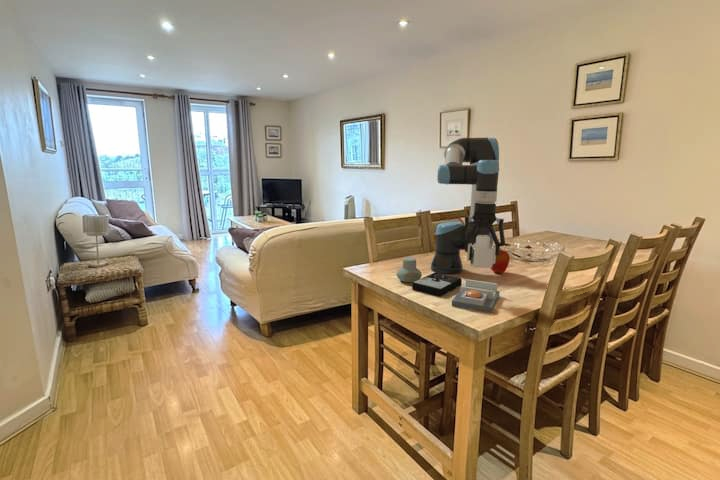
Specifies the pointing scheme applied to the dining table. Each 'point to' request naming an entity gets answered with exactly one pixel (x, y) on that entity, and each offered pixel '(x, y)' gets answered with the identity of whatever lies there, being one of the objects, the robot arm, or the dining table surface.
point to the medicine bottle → (482, 251)
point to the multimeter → (437, 284)
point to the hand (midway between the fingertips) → (481, 261)
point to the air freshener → (409, 271)
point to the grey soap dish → (484, 304)
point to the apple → (501, 262)
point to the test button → (474, 294)
